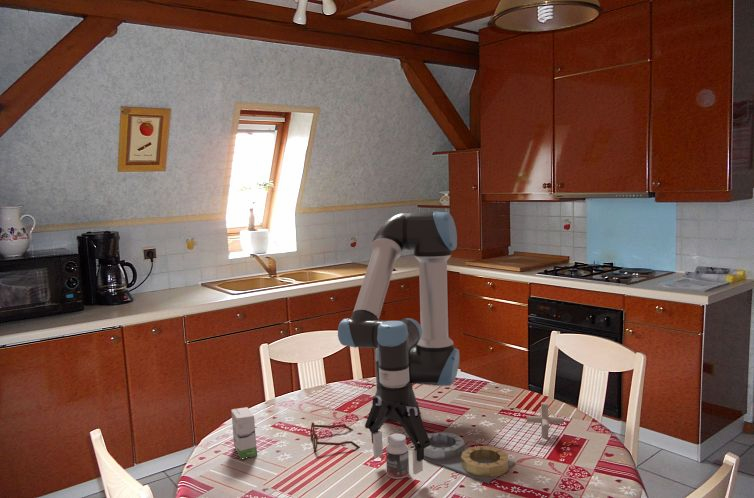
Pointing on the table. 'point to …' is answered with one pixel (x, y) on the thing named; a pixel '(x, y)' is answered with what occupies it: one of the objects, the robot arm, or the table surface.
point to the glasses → (328, 442)
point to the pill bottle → (397, 456)
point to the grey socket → (444, 453)
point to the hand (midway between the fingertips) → (397, 464)
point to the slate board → (456, 464)
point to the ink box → (244, 432)
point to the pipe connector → (544, 419)
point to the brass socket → (484, 468)
